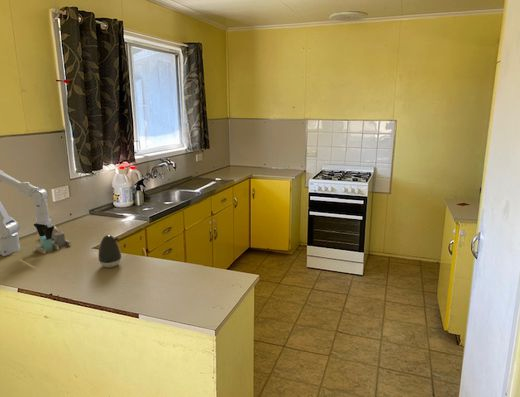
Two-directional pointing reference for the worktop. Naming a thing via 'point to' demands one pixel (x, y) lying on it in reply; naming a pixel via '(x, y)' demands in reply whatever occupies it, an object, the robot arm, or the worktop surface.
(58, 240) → the grey plug
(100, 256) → the dark grey egg shape
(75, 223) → the worktop surface
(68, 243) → the brown tray
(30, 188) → the robot arm
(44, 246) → the teal plug
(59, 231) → the ceramic mug
